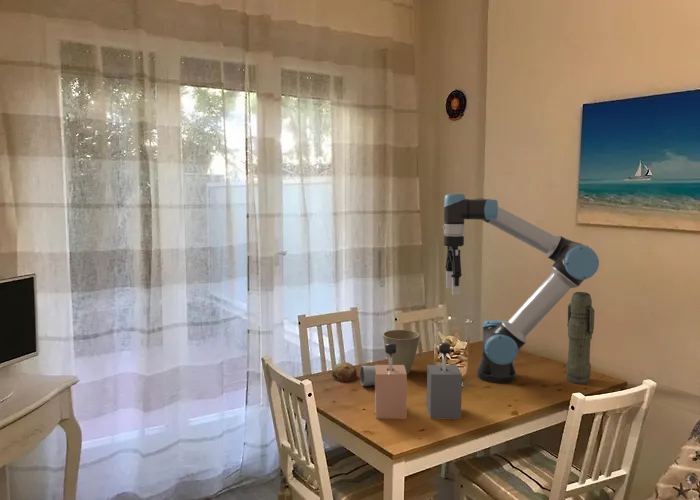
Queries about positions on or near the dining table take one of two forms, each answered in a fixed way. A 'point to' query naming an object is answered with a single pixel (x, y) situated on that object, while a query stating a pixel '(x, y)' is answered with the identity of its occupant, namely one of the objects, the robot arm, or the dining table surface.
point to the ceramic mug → (367, 375)
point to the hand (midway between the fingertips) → (452, 291)
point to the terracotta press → (390, 391)
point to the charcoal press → (444, 392)
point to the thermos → (579, 338)
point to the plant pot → (402, 347)
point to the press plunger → (390, 352)
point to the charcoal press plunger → (444, 353)
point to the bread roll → (344, 372)
